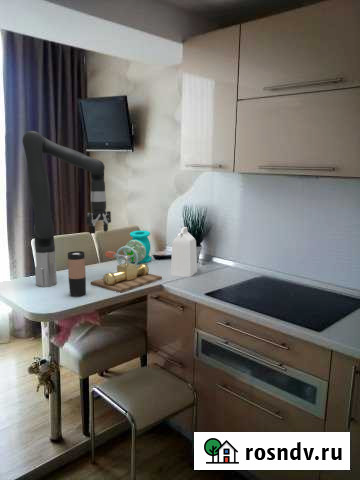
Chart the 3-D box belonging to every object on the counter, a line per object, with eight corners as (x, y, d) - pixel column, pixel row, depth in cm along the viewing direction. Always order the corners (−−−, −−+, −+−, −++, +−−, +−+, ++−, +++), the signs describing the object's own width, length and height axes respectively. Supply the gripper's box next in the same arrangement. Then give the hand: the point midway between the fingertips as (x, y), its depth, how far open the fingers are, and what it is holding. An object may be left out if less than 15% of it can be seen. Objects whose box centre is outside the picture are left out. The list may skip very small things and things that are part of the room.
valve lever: (126, 261, 198) (126, 255, 198) (105, 256, 208) (105, 251, 208) (130, 260, 201) (130, 254, 200) (109, 255, 210) (109, 250, 210)
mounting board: (120, 293, 184) (120, 289, 184) (90, 284, 198) (90, 281, 197) (162, 279, 208) (161, 276, 207) (132, 272, 221) (132, 270, 221)
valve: (153, 230, 248) (135, 245, 221) (155, 257, 253) (137, 274, 226) (133, 229, 252) (112, 243, 225) (135, 255, 257) (115, 272, 230)
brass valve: (111, 287, 189) (110, 265, 187) (101, 285, 194) (101, 263, 192) (150, 275, 211) (149, 255, 209) (140, 273, 215) (140, 253, 213)
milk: (190, 276, 212) (190, 229, 208) (170, 275, 216) (170, 228, 211) (197, 271, 223) (197, 226, 219) (178, 269, 227) (178, 225, 222)
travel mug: (72, 292, 186) (70, 251, 182) (88, 292, 186) (86, 251, 182) (67, 297, 178) (65, 254, 175) (83, 297, 178) (81, 254, 174)
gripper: (92, 201, 189) (93, 234, 191) (114, 199, 200) (114, 231, 203) (82, 200, 193) (83, 233, 196) (104, 199, 204) (105, 230, 207)
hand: (99, 232), depth 199 cm, fingers open, 7 cm apart
